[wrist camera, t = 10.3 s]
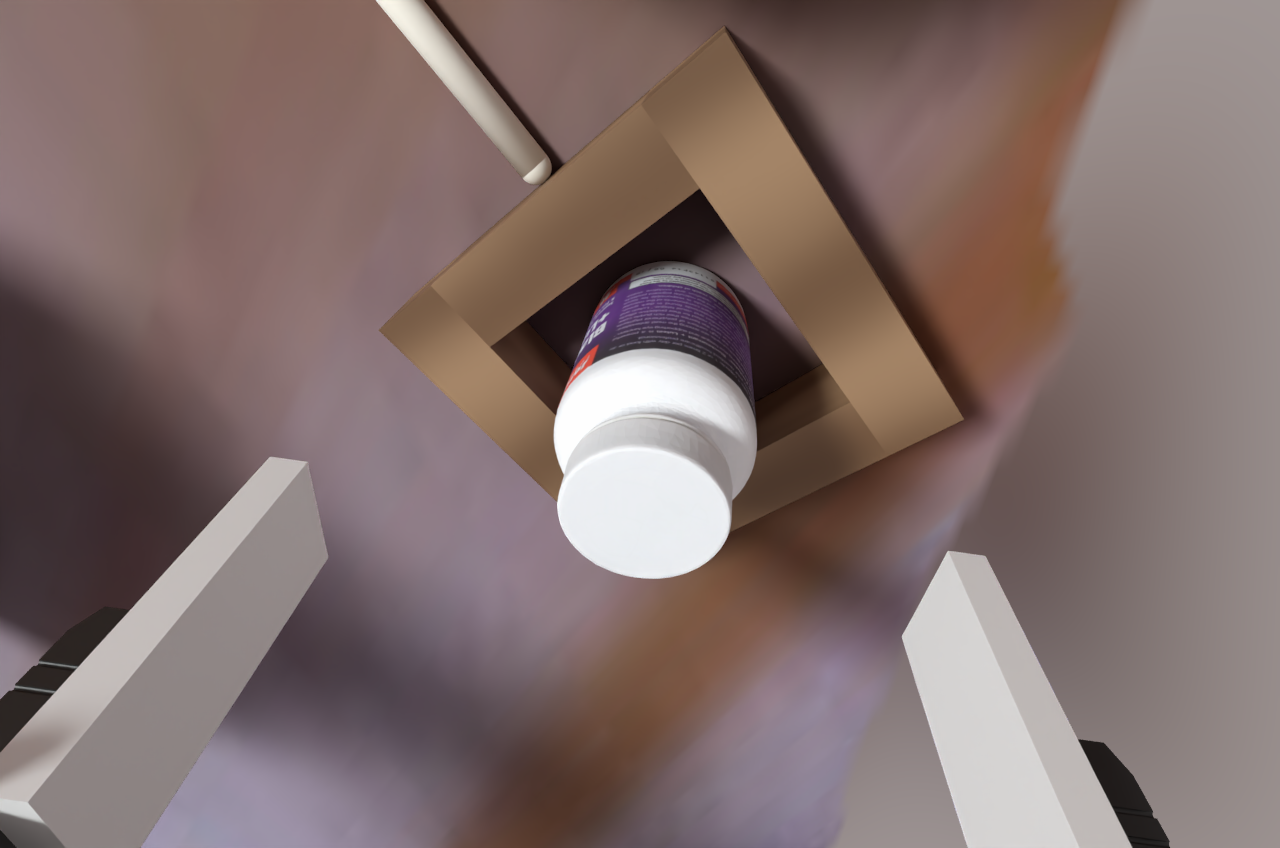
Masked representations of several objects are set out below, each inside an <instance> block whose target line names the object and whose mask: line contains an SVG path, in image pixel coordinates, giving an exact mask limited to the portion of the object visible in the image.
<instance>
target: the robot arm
mask: <svg viewBox="0 0 1280 848" xmlns="http://www.w3.org/2000/svg"><path fill="white" fill-rule="evenodd" d="M327 559H328V553H327V549H326V544H325V540H324V535H323V530H322V526H321V521H320V517H319V512H318V507H317V503H316V498H315V494H314V489H313V484H312V480H311V475H310V471H309V466H308V462H305V461H298V460H290V459H283V458H276V457H269V458H268V459H267V461H266V462H265V463H264V464H263V465H262V466H261V467H260V468H259V469H258V470H257V472H256V473H255V474H254V475H253V476H252V477H251V478H250V479H249V480H248V481H247V483H246V484H245V485H244V486H243V487H242V488H241V489H240V490H239V491H238V492H237V493H236V495H235V496H234V497H233V498H232V499H231V500H230V501H229V502H228V503H227V504H226V506H225V507H224V508H223V509H222V510H221V511H220V512H219V513H218V514H217V515H216V517H215V518H214V519H213V520H212V521H211V522H210V523H209V524H208V525H207V526H206V527H205V529H204V530H203V531H202V532H201V533H200V534H199V535H198V536H197V537H196V538H195V540H194V541H193V542H192V543H191V544H190V545H189V546H188V547H187V548H186V549H185V551H184V552H183V553H182V554H181V555H180V556H179V557H178V558H177V559H176V560H175V561H174V563H173V564H172V565H171V566H170V567H169V568H168V569H167V570H166V571H165V572H164V574H163V575H162V576H161V577H160V578H159V579H158V580H157V581H156V582H155V583H154V585H153V586H152V587H151V588H150V589H149V590H148V591H147V592H146V593H145V594H144V595H143V597H142V598H141V599H140V600H139V601H138V602H137V603H136V604H135V605H134V606H133V608H132V609H131V610H125V609H118V608H111V607H104V608H103V609H101V610H99V611H98V612H96V613H95V614H93V615H92V616H90V617H88V618H87V619H85V620H84V621H82V622H81V623H79V624H77V625H76V626H74V627H73V628H71V629H70V630H68V631H67V632H66V633H65V634H64V635H63V636H62V637H61V638H60V639H59V640H58V641H57V642H56V643H55V644H54V645H53V646H52V647H51V648H50V649H49V650H48V651H47V652H46V653H45V654H44V656H43V657H42V658H41V659H40V660H39V664H38V665H37V666H33V667H32V668H31V669H30V670H29V671H28V672H27V673H26V674H25V675H24V676H23V677H22V678H21V679H20V680H19V681H18V682H17V683H16V684H15V688H14V690H12V691H8V692H7V693H6V694H5V695H4V696H3V697H2V698H1V699H0V848H141V846H142V845H143V843H144V841H145V840H146V838H147V837H148V835H149V834H150V832H151V831H152V829H153V828H154V826H155V824H156V823H157V821H158V820H159V818H160V817H161V815H162V814H163V812H164V811H165V809H166V807H167V806H168V804H169V803H170V801H171V800H172V798H173V797H174V795H175V794H176V792H177V791H178V789H179V787H180V786H181V784H182V783H183V781H184V780H185V778H186V777H187V775H188V774H189V772H190V770H191V769H192V767H193V766H194V764H195V763H196V761H197V760H198V758H199V757H200V755H201V753H202V752H203V750H204V749H205V747H206V746H207V744H208V743H209V741H210V740H211V738H212V736H213V735H214V733H215V732H216V730H217V729H218V727H219V726H220V724H221V723H222V721H223V720H224V718H225V716H226V715H227V713H228V712H229V710H230V709H231V707H232V706H233V704H234V703H235V701H236V699H237V698H238V696H239V695H240V693H241V692H242V690H243V689H244V687H245V686H246V684H247V682H248V681H249V679H250V678H251V676H252V675H253V673H254V672H255V670H256V669H257V667H258V666H259V664H260V662H261V661H262V659H263V658H264V656H265V655H266V653H267V652H268V650H269V649H270V647H271V645H272V644H273V642H274V641H275V639H276V638H277V636H278V635H279V633H280V632H281V630H282V628H283V627H284V625H285V624H286V622H287V621H288V619H289V618H290V616H291V615H292V613H293V612H294V610H295V608H296V607H297V605H298V604H299V602H300V601H301V599H302V598H303V596H304V595H305V593H306V591H307V590H308V588H309V587H310V585H311V584H312V582H313V581H314V579H315V578H316V576H317V574H318V573H319V571H320V570H321V568H322V567H323V565H324V564H325V562H326V561H327ZM902 640H903V643H904V646H905V649H906V653H907V656H908V659H909V662H910V665H911V668H912V672H913V675H914V678H915V681H916V684H917V688H918V691H919V694H920V697H921V701H922V704H923V707H924V710H925V713H926V717H927V719H928V723H929V726H930V729H931V732H932V736H933V739H934V742H935V745H936V749H937V751H938V755H939V758H940V761H941V764H942V768H943V771H944V774H945V777H946V781H947V784H948V787H949V790H950V793H951V797H952V800H953V803H954V806H955V809H956V812H957V815H958V819H959V822H960V825H961V828H962V832H963V835H964V838H965V841H966V844H967V848H1170V847H1169V840H1168V838H1167V836H1166V834H1165V833H1164V831H1163V829H1162V827H1161V825H1160V823H1159V822H1158V820H1157V819H1155V818H1154V817H1153V815H1152V813H1153V811H1152V809H1151V807H1150V805H1149V803H1148V802H1147V800H1146V798H1145V796H1144V794H1143V792H1142V791H1141V789H1140V787H1139V785H1138V783H1137V782H1136V780H1135V778H1134V776H1133V775H1132V774H1131V773H1130V772H1129V770H1128V769H1127V768H1126V767H1125V766H1124V765H1123V764H1122V763H1121V761H1120V760H1119V759H1118V758H1117V757H1116V756H1115V755H1114V754H1113V753H1112V751H1111V750H1110V749H1109V748H1108V747H1107V746H1106V745H1105V744H1104V743H1101V742H1093V741H1086V740H1078V739H1077V737H1076V735H1075V733H1074V731H1073V729H1072V727H1071V725H1070V723H1069V721H1068V719H1067V717H1066V715H1065V713H1064V711H1063V709H1062V707H1061V705H1060V703H1059V701H1058V700H1057V697H1056V695H1055V693H1054V691H1053V689H1052V687H1051V685H1050V683H1049V682H1048V679H1047V678H1046V676H1045V673H1044V671H1043V670H1042V668H1041V666H1040V664H1039V662H1038V660H1037V658H1036V656H1035V654H1034V652H1033V650H1032V648H1031V646H1030V644H1029V642H1028V640H1027V638H1026V636H1025V634H1024V632H1023V630H1022V628H1021V626H1020V624H1019V622H1018V620H1017V618H1016V616H1015V614H1014V612H1013V610H1012V608H1011V606H1010V604H1009V602H1008V600H1007V598H1006V596H1005V594H1004V592H1003V590H1002V589H1001V586H1000V584H999V582H998V580H997V578H996V576H995V574H994V572H993V570H992V569H991V566H990V564H989V563H988V561H987V558H986V557H985V556H981V555H974V554H967V553H959V552H953V551H948V552H947V554H946V556H945V557H944V559H943V561H942V563H941V565H940V567H939V569H938V570H937V572H936V574H935V576H934V578H933V580H932V582H931V583H930V585H929V587H928V589H927V591H926V593H925V595H924V596H923V598H922V600H921V602H920V604H919V606H918V607H917V609H916V611H915V613H914V615H913V617H912V619H911V620H910V622H909V624H908V626H907V628H906V630H905V632H904V633H903V635H902Z"/></svg>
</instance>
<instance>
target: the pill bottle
mask: <svg viewBox="0 0 1280 848" xmlns="http://www.w3.org/2000/svg"><path fill="white" fill-rule="evenodd" d="M756 426H757V424H756V412H755V402H754V391H753V380H752V368H751V356H750V344H749V332H748V326H747V322H746V317H745V314H744V311H743V308H742V306H741V304H740V302H739V300H738V299H737V297H736V295H735V294H734V293H733V291H732V290H731V289H730V288H729V287H728V285H727V284H726V283H724V282H723V281H722V280H721V279H720V278H719V277H717V276H716V275H714V274H713V273H711V272H710V271H708V270H706V269H703V268H701V267H698V266H696V265H693V264H689V263H684V262H677V261H661V262H654V263H649V264H645V265H642V266H640V267H637V268H635V269H633V270H631V271H629V272H627V273H626V274H624V275H623V276H621V277H620V278H619V279H617V280H616V281H615V282H614V283H613V284H612V285H611V286H610V287H609V288H608V290H607V291H606V292H605V294H604V295H603V296H602V298H601V300H600V302H599V304H598V306H597V307H596V309H595V312H594V314H593V317H592V320H591V322H590V325H589V327H588V330H587V333H586V335H585V338H584V341H583V343H582V346H581V349H580V351H579V354H578V357H577V359H576V361H575V364H574V367H573V370H572V372H571V375H570V378H569V380H568V383H567V385H566V388H565V391H564V393H563V396H562V398H561V401H560V404H559V406H558V409H557V414H556V418H555V424H554V445H555V451H556V455H557V459H558V462H559V465H560V467H561V469H562V472H563V474H564V477H563V480H562V484H561V487H560V491H559V495H558V502H557V508H558V516H559V521H560V524H561V527H562V529H563V531H564V533H565V535H566V536H567V538H568V539H569V541H570V542H571V543H572V545H573V546H574V547H575V548H576V549H577V550H578V551H579V552H580V553H581V554H582V555H583V556H585V557H586V558H587V559H589V560H591V561H592V562H593V563H595V564H596V565H598V566H601V567H603V568H605V569H607V570H609V571H612V572H615V573H618V574H621V575H625V576H630V577H636V578H649V579H659V578H668V577H673V576H678V575H682V574H685V573H688V572H690V571H692V570H694V569H697V568H699V567H700V566H702V565H703V564H705V563H706V562H708V561H709V560H710V559H711V558H713V557H714V556H715V555H716V554H717V552H718V551H719V550H720V549H721V547H722V546H723V544H724V543H725V541H726V539H727V536H728V534H729V531H730V527H731V519H732V500H733V499H734V498H735V497H736V496H737V495H738V494H739V493H740V491H741V490H742V489H743V487H744V486H745V484H746V482H747V480H748V479H749V477H750V475H751V472H752V469H753V467H754V463H755V458H756V452H757V430H756Z"/></svg>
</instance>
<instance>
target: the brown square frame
mask: <svg viewBox="0 0 1280 848" xmlns="http://www.w3.org/2000/svg"><path fill="white" fill-rule="evenodd" d="M699 188H700V189H701V191H702V192H703V193H704V195H705V196H706V198H707V199H708V201H709V202H710V203H711V205H712V206H713V208H714V209H715V211H716V212H717V213H718V215H719V216H720V218H721V219H722V221H723V222H724V223H725V225H726V226H727V228H728V229H729V230H730V232H731V233H732V235H733V236H734V238H735V239H736V240H737V242H738V243H739V245H740V246H741V248H742V249H743V250H744V252H745V253H746V255H747V256H748V258H749V259H750V260H751V262H752V263H753V265H754V266H755V267H756V269H757V270H758V272H759V273H760V275H761V276H762V277H763V279H764V280H765V282H766V283H767V285H768V286H769V287H770V289H771V290H772V292H773V293H774V294H775V296H776V297H777V299H778V300H779V302H780V303H781V304H782V306H783V307H784V309H785V310H786V312H787V313H788V314H789V316H790V317H791V319H792V320H793V322H794V323H795V324H796V326H797V327H798V329H799V330H800V331H801V333H802V334H803V336H804V337H805V339H806V340H807V341H808V343H809V344H810V346H811V347H812V349H813V350H814V351H815V353H816V354H817V356H818V357H819V359H820V360H821V361H822V363H823V364H822V365H820V366H819V367H817V368H815V369H813V370H811V371H810V372H808V373H806V374H804V375H803V376H801V377H799V378H797V379H796V380H794V381H792V382H790V383H789V384H787V385H785V386H783V387H782V388H780V389H778V390H776V391H775V392H773V393H771V394H769V395H767V396H766V397H764V398H762V399H760V400H759V401H757V402H755V412H756V424H757V426H756V430H757V452H756V458H755V463H754V467H753V469H752V472H751V475H750V477H749V479H748V480H747V482H746V484H745V486H744V487H743V489H742V490H741V491H740V493H739V494H738V495H737V496H736V497H735V498H734V499H733V500H732V519H731V527H730V531H729V533H730V532H732V531H734V530H736V529H738V528H740V527H742V526H744V525H746V524H748V523H750V522H752V521H754V520H757V519H759V518H761V517H763V516H765V515H767V514H769V513H771V512H773V511H775V510H777V509H779V508H781V507H784V506H786V505H788V504H790V503H792V502H794V501H796V500H798V499H800V498H802V497H804V496H806V495H808V494H811V493H813V492H815V491H817V490H819V489H821V488H823V487H825V486H827V485H829V484H831V483H833V482H835V481H838V480H840V479H842V478H844V477H846V476H848V475H850V474H852V473H854V472H856V471H858V470H860V469H862V468H865V467H867V466H869V465H871V464H873V463H875V462H877V461H879V460H881V459H883V458H885V457H887V456H889V455H892V454H894V453H896V452H898V451H900V450H902V449H904V448H906V447H908V446H910V445H912V444H914V443H916V442H919V441H921V440H923V439H925V438H927V437H929V436H931V435H933V434H935V433H937V432H939V431H941V430H943V429H946V428H948V427H950V426H952V425H954V424H956V423H958V422H960V421H962V420H964V418H963V417H962V415H961V413H960V411H959V410H958V408H957V406H956V404H955V403H954V401H953V399H952V397H951V396H950V394H949V392H948V390H947V389H946V387H945V385H944V383H943V382H942V380H941V378H940V376H939V375H938V373H937V371H936V370H935V368H934V366H933V365H932V363H931V361H930V360H929V358H928V357H927V355H926V353H925V352H924V350H923V348H922V347H921V345H920V344H919V342H918V340H917V339H916V337H915V335H914V334H913V332H912V331H911V329H910V327H909V326H908V324H907V322H906V321H905V319H904V317H903V316H902V314H901V313H900V311H899V309H898V308H897V306H896V304H895V303H894V301H893V300H892V298H891V296H890V295H889V293H888V291H887V290H886V288H885V287H884V285H883V283H882V282H881V280H880V278H879V277H878V275H877V273H876V272H875V270H874V269H873V267H872V265H871V264H870V262H869V260H868V259H867V257H866V256H865V254H864V252H863V251H862V249H861V247H860V246H859V244H858V243H857V241H856V239H855V238H854V236H853V234H852V233H851V231H850V229H849V228H848V226H847V225H846V223H845V221H844V220H843V218H842V216H841V215H840V213H839V212H838V210H837V208H836V207H835V205H834V203H833V202H832V200H831V199H830V197H829V195H828V194H827V192H826V190H825V189H824V187H823V185H822V184H821V182H820V181H819V179H818V177H817V176H816V174H815V172H814V171H813V169H812V168H811V166H810V164H809V163H808V161H807V159H806V158H805V156H804V155H803V153H802V151H801V150H800V148H799V146H798V145H797V143H796V141H795V140H794V138H793V137H792V135H791V133H790V132H789V130H788V128H787V127H786V125H785V124H784V122H783V120H782V119H781V117H780V115H779V114H778V112H777V111H776V109H775V107H774V106H773V104H772V102H771V101H770V99H769V97H768V96H767V94H766V93H765V91H764V89H763V88H762V86H761V84H760V83H759V81H758V80H757V78H756V76H755V75H754V73H753V71H752V70H751V68H750V67H749V65H748V63H747V62H746V60H745V58H744V57H743V55H742V53H741V52H740V50H739V49H738V47H737V45H736V44H735V42H734V40H733V39H732V37H731V36H730V34H729V32H728V31H727V29H726V27H725V26H724V27H722V28H721V29H720V30H719V31H718V32H717V33H715V34H714V35H713V36H712V37H711V38H710V39H709V40H707V41H706V42H705V43H704V44H703V45H702V46H700V47H699V48H698V49H697V50H696V51H695V52H694V53H692V54H691V55H690V56H689V57H688V58H687V59H685V60H684V61H683V62H682V63H681V64H680V65H679V66H677V67H676V68H675V69H674V70H673V71H672V72H670V73H669V74H668V75H667V76H666V77H665V78H664V79H662V80H661V81H660V82H659V83H658V84H657V85H655V86H654V87H653V88H652V89H651V90H650V91H648V92H647V93H646V94H645V95H644V96H643V97H642V98H640V99H639V100H638V101H637V102H636V103H635V104H633V105H632V106H631V107H630V108H629V109H628V110H627V111H625V112H624V113H623V114H622V115H621V116H620V117H618V118H617V119H616V120H615V121H614V122H613V123H612V124H610V125H609V126H608V127H607V128H606V129H605V130H603V131H602V132H601V133H600V134H599V135H598V136H597V137H595V138H594V139H593V140H592V141H591V142H590V143H588V144H587V145H586V146H585V147H584V148H583V149H582V150H580V151H579V152H578V153H577V154H576V155H575V156H573V157H572V158H571V159H570V160H569V161H568V162H567V163H565V164H564V165H563V166H562V167H561V168H560V169H558V170H557V171H556V172H555V173H554V174H553V175H552V176H550V177H549V178H548V180H547V181H545V182H544V183H542V184H541V185H540V186H539V187H538V188H537V189H535V190H534V191H533V192H532V193H531V194H530V195H528V196H527V197H526V198H525V199H524V200H523V201H521V202H520V203H519V204H518V205H517V206H516V207H515V208H513V209H512V210H511V211H510V212H509V213H508V214H506V215H505V216H504V217H503V218H502V219H501V220H500V221H498V222H497V223H496V224H495V225H494V226H493V227H491V228H490V229H489V230H488V231H487V232H486V233H485V234H483V235H482V236H481V237H480V238H479V239H478V240H476V241H475V242H474V243H473V244H472V245H471V246H470V247H468V248H467V249H466V250H465V251H464V252H463V253H461V254H460V255H459V256H458V257H457V258H456V259H455V260H453V261H452V262H451V263H450V264H449V265H448V266H446V267H445V268H444V269H443V270H442V271H441V272H440V273H438V274H437V275H436V276H435V277H434V278H433V279H431V280H430V281H429V282H428V283H427V284H426V285H425V286H423V287H422V288H421V289H420V290H419V291H418V292H416V293H415V294H414V295H413V296H412V297H411V298H410V299H409V300H408V301H407V302H406V303H405V304H404V305H403V306H402V307H401V308H400V309H399V310H398V311H397V312H396V313H395V314H394V315H393V316H392V317H391V318H390V319H389V320H388V321H387V322H386V323H385V324H384V325H383V326H382V327H381V328H380V329H379V331H380V332H381V333H382V334H383V335H384V336H385V337H386V338H387V339H388V340H389V341H390V342H391V343H392V344H393V345H395V346H396V347H397V348H398V349H399V350H400V351H401V352H402V353H403V354H404V355H405V356H406V357H407V358H408V359H409V360H410V361H411V362H412V363H413V364H414V365H415V366H416V367H417V368H418V369H419V370H420V371H422V372H423V373H424V374H425V375H426V376H427V377H428V378H429V379H430V380H431V381H432V382H433V383H434V384H435V385H436V386H437V387H438V388H439V389H440V390H441V391H442V392H443V393H444V394H445V395H446V396H448V397H449V398H450V399H451V400H452V401H453V402H454V403H455V404H456V405H457V406H458V407H459V408H460V409H461V410H462V411H463V412H464V413H465V414H466V415H467V416H468V417H469V418H470V419H471V420H472V421H474V422H475V423H476V424H477V425H478V426H479V427H480V428H481V429H482V430H483V431H484V432H485V433H486V434H487V435H488V436H489V437H490V438H491V439H492V440H493V441H494V442H495V443H496V444H497V445H498V446H499V447H501V448H502V449H503V450H504V451H505V452H506V453H507V454H508V455H509V456H510V457H511V458H512V459H513V460H514V461H515V462H516V463H517V464H518V465H519V466H520V467H521V468H522V469H523V470H524V471H525V472H527V473H528V474H529V475H530V476H531V477H532V478H533V479H534V480H535V481H536V482H537V483H538V484H539V485H540V486H541V487H542V488H543V489H544V490H545V491H546V492H547V493H548V494H549V495H550V496H551V497H553V498H554V499H555V500H556V501H557V502H558V495H559V491H560V487H561V484H562V480H563V477H564V474H563V472H562V469H561V467H560V465H559V462H558V459H557V455H556V451H555V445H554V424H555V418H556V414H557V409H558V406H559V404H560V401H561V398H562V396H563V393H564V391H565V388H566V385H567V383H568V380H569V378H570V375H571V372H572V370H571V369H570V368H569V367H568V366H567V365H566V364H565V363H564V362H563V360H562V359H561V358H560V357H559V356H558V355H557V354H556V353H555V352H554V351H553V349H552V348H551V347H550V346H549V345H548V344H547V343H546V342H545V341H544V340H543V339H542V337H541V336H540V335H539V334H538V333H537V332H536V331H535V330H534V329H533V328H532V327H531V325H530V324H529V323H528V322H527V321H526V320H527V319H528V318H529V317H530V316H532V315H533V314H534V313H536V312H537V311H538V310H540V309H541V308H542V307H544V306H545V305H546V304H548V303H549V302H550V301H552V300H553V299H554V298H556V297H557V296H558V295H560V294H561V293H562V292H563V291H565V290H566V289H567V288H569V287H570V286H571V285H573V284H574V283H575V282H577V281H578V280H579V279H581V278H582V277H583V276H585V275H586V274H587V273H589V272H590V271H591V270H593V269H594V268H595V267H596V266H598V265H599V264H600V263H602V262H603V261H604V260H606V259H607V258H608V257H610V256H611V255H612V254H614V253H615V252H616V251H618V250H619V249H620V248H622V247H623V246H624V245H626V244H627V243H628V242H629V241H631V240H632V239H633V238H635V237H636V236H637V235H639V234H640V233H641V232H643V231H644V230H645V229H647V228H648V227H649V226H651V225H652V224H653V223H655V222H656V221H657V220H659V219H660V218H661V217H662V216H664V215H665V214H666V213H668V212H669V211H670V210H672V209H673V208H674V207H676V206H677V205H678V204H680V203H681V202H682V201H684V200H685V199H686V198H688V197H689V196H690V195H692V194H693V193H694V192H695V191H697V190H698V189H699Z"/></svg>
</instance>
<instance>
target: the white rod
mask: <svg viewBox="0 0 1280 848" xmlns="http://www.w3.org/2000/svg"><path fill="white" fill-rule="evenodd" d="M376 1H377V3H378V4H379V5H380V6H381V7H382V9H383V10H384V11H385V12H386V13H387V15H388V16H389V17H390V18H391V19H392V21H393V22H394V23H395V24H396V26H397V27H398V28H399V29H400V30H401V32H402V33H403V34H404V35H405V36H406V38H407V39H408V40H409V41H410V43H411V44H412V45H413V46H414V47H415V49H416V50H417V51H418V52H419V53H420V55H421V56H422V57H423V58H424V60H425V61H426V62H427V63H428V64H429V66H430V67H431V68H432V69H433V70H434V72H435V73H436V74H437V75H438V77H439V78H440V79H441V80H442V81H443V83H444V84H445V85H446V86H447V87H448V89H449V90H450V91H451V92H452V93H453V95H454V96H455V97H456V98H457V100H458V101H459V102H460V103H461V104H462V106H463V107H464V108H465V109H466V110H467V112H468V113H469V114H470V115H471V117H472V118H473V119H474V120H475V121H476V123H477V124H478V125H479V126H480V127H481V129H482V130H483V131H484V132H485V134H486V135H487V136H488V137H489V138H490V140H491V141H492V142H493V143H494V144H495V146H496V147H497V148H498V149H499V150H500V152H501V153H502V154H503V155H504V157H505V158H506V159H507V160H508V161H509V163H510V164H511V165H512V166H513V167H514V169H515V170H516V171H517V172H518V174H519V175H520V176H521V177H522V178H523V179H524V180H525V181H526V182H527V183H529V184H532V185H539V184H542V183H544V182H545V181H547V180H548V178H549V177H550V174H551V170H552V166H551V162H550V159H549V158H548V156H547V155H546V154H545V152H544V151H543V150H542V149H541V147H540V146H539V145H538V143H537V142H536V141H535V140H534V138H533V137H532V136H531V135H530V133H529V132H528V131H527V130H526V128H525V127H524V126H523V125H522V123H521V122H520V121H519V120H518V118H517V117H516V116H515V115H514V113H513V112H512V111H511V109H510V108H509V107H508V106H507V104H506V103H505V102H504V101H503V99H502V98H501V97H500V96H499V94H498V93H497V92H496V91H495V89H494V88H493V87H492V86H491V84H490V83H489V82H488V81H487V79H486V78H485V77H484V75H483V74H482V73H481V72H480V70H479V69H478V68H477V67H476V65H475V64H474V63H473V62H472V60H471V59H470V58H469V57H468V55H467V54H466V53H465V52H464V50H463V49H462V48H461V47H460V45H459V44H458V43H457V41H456V40H455V39H454V38H453V36H452V35H451V34H450V33H449V31H448V30H447V29H446V28H445V26H444V25H443V24H442V23H441V21H440V20H439V19H438V18H437V16H436V15H435V14H434V13H433V11H432V10H431V9H430V7H429V6H428V5H427V4H426V2H425V1H424V0H376Z"/></svg>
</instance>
